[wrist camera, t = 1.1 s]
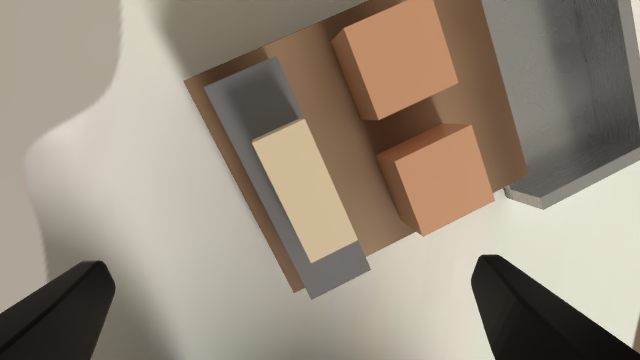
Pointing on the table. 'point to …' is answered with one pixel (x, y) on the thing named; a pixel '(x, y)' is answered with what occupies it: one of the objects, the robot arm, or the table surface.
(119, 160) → the table surface
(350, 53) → the tile
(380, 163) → the tile
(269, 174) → the grey and beige block
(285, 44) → the board
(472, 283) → the robot arm
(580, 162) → the tray
